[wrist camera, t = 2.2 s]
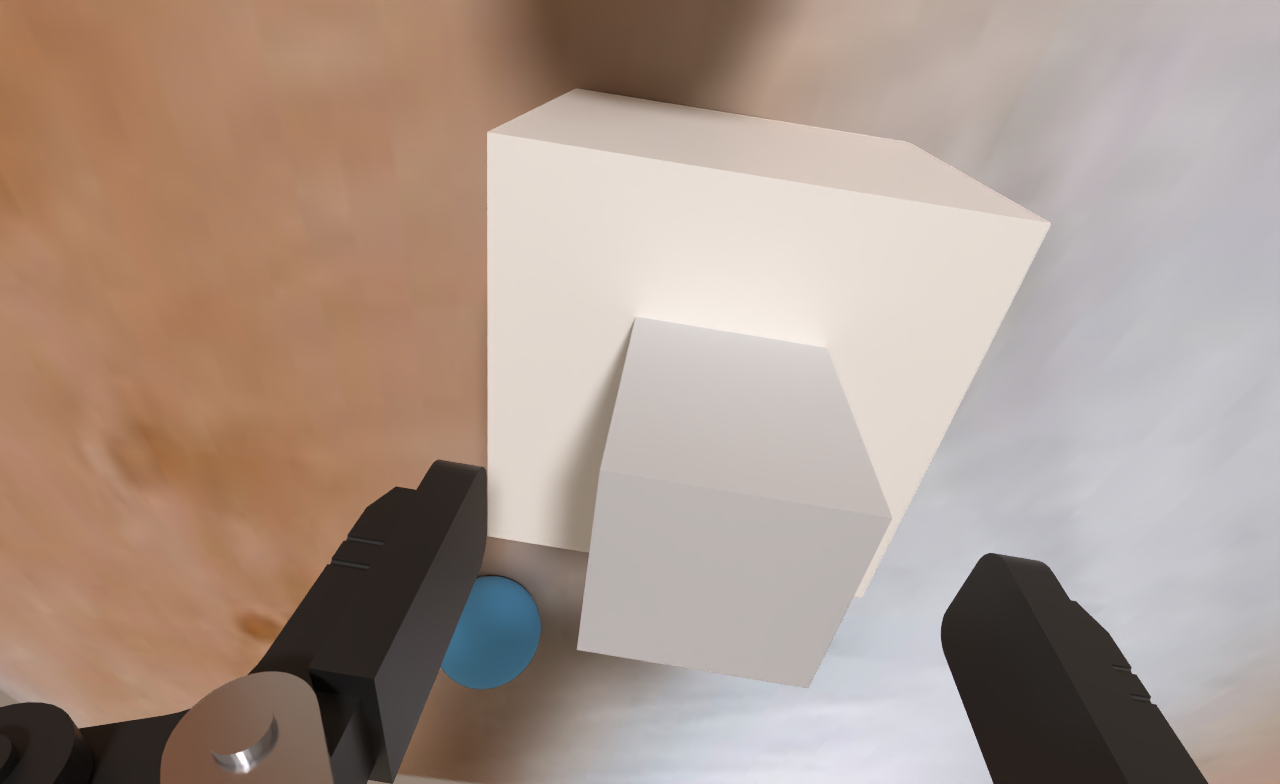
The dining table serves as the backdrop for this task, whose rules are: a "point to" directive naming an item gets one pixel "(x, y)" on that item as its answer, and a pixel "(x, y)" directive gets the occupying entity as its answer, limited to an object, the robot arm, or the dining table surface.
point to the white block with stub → (727, 363)
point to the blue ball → (493, 635)
